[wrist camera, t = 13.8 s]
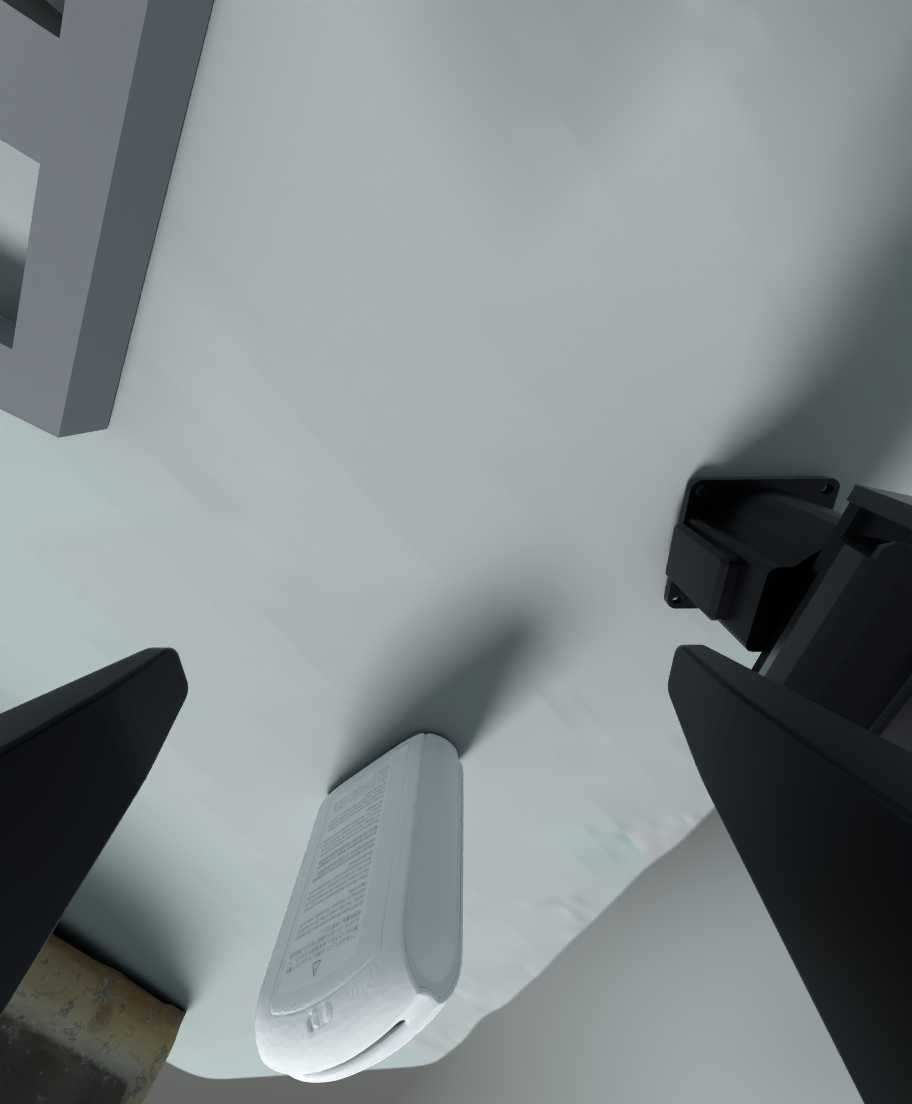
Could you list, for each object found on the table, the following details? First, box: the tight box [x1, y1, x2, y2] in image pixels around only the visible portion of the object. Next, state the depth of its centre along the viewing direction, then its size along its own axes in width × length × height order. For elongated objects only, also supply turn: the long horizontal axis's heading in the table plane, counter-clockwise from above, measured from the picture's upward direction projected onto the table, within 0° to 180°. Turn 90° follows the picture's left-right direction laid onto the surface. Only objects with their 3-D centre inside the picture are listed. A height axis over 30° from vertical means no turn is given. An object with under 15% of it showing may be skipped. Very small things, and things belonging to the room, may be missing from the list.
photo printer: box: [255, 733, 463, 1082], centre depth 22 cm, size 10×4×12 cm, turn 133°
